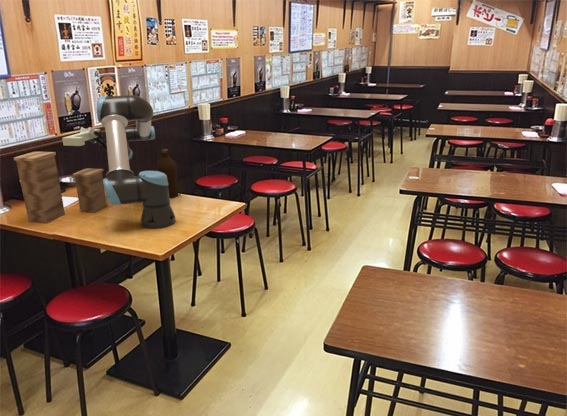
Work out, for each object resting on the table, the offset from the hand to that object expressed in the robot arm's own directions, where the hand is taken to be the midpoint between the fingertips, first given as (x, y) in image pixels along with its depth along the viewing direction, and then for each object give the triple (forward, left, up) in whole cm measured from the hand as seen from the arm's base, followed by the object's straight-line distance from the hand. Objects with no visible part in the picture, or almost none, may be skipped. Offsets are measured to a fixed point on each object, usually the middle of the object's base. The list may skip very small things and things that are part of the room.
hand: (85, 129), depth 216 cm
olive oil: (-3, -36, -39) cm, 53 cm away
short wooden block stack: (-2, +2, -38) cm, 38 cm away
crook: (-4, 0, -5) cm, 6 cm away
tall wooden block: (-3, +23, -38) cm, 45 cm away
